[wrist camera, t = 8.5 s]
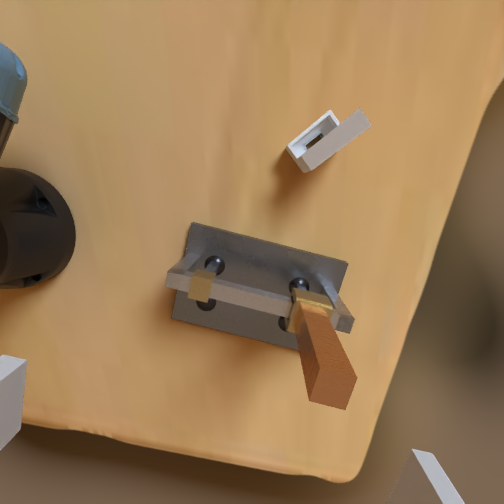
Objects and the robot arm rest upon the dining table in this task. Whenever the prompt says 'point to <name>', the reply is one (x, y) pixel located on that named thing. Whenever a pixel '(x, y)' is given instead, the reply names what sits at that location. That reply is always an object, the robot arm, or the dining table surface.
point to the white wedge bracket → (326, 139)
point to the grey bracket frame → (243, 292)
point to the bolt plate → (253, 281)
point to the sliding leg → (320, 349)
